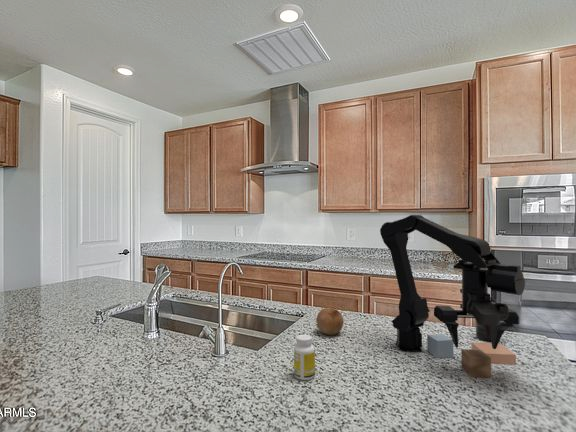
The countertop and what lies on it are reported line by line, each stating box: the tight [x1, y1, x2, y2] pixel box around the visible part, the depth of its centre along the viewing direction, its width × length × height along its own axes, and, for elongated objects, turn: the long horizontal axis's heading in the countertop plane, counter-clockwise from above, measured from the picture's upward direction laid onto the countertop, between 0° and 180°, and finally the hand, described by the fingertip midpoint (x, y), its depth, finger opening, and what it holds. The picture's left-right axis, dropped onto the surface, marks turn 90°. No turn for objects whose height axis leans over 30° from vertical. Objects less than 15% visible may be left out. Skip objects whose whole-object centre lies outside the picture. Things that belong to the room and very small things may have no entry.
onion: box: [315, 307, 345, 336], centre depth 111 cm, size 10×9×10 cm
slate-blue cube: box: [426, 333, 454, 359], centre depth 94 cm, size 5×5×5 cm
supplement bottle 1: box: [293, 334, 316, 381], centre depth 81 cm, size 5×5×10 cm
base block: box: [470, 341, 517, 365], centre depth 91 cm, size 8×8×3 cm
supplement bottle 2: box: [475, 301, 497, 343], centre depth 105 cm, size 7×7×12 cm
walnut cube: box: [460, 348, 492, 379], centre depth 82 cm, size 5×5×5 cm
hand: (475, 347), depth 82 cm, fingers open, 9 cm apart
